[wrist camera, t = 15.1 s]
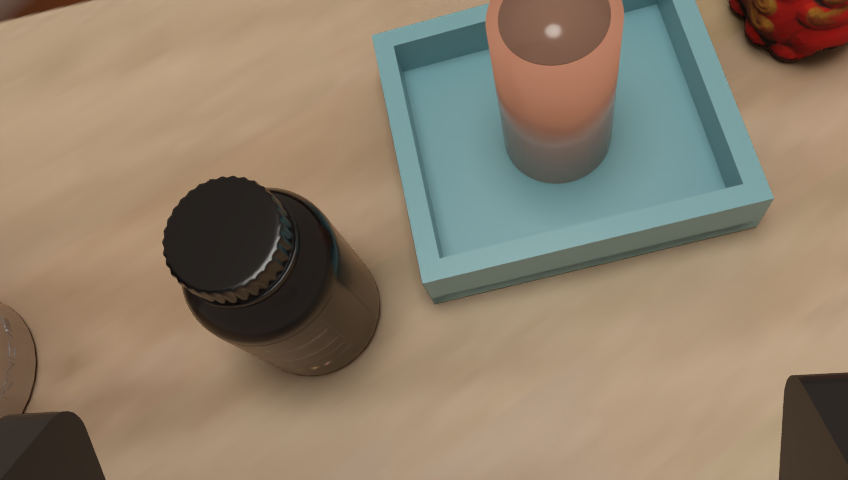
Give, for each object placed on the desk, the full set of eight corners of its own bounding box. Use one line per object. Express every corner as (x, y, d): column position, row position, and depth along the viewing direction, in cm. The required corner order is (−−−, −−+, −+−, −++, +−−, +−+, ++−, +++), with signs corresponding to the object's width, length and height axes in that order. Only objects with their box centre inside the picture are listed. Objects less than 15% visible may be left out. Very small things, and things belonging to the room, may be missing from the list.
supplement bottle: (244, 269, 42) (128, 174, 31) (367, 234, 42) (294, 125, 30) (263, 395, 39) (144, 341, 28) (395, 360, 39) (325, 291, 28)
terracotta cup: (516, 194, 40) (500, 90, 30) (494, 102, 42) (473, -22, 32) (623, 170, 39) (640, 56, 30) (596, 78, 41) (604, -55, 32)
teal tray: (434, 304, 40) (422, 283, 36) (386, 71, 45) (371, 35, 42) (756, 226, 38) (773, 198, 35) (667, -5, 43) (675, -48, 40)
